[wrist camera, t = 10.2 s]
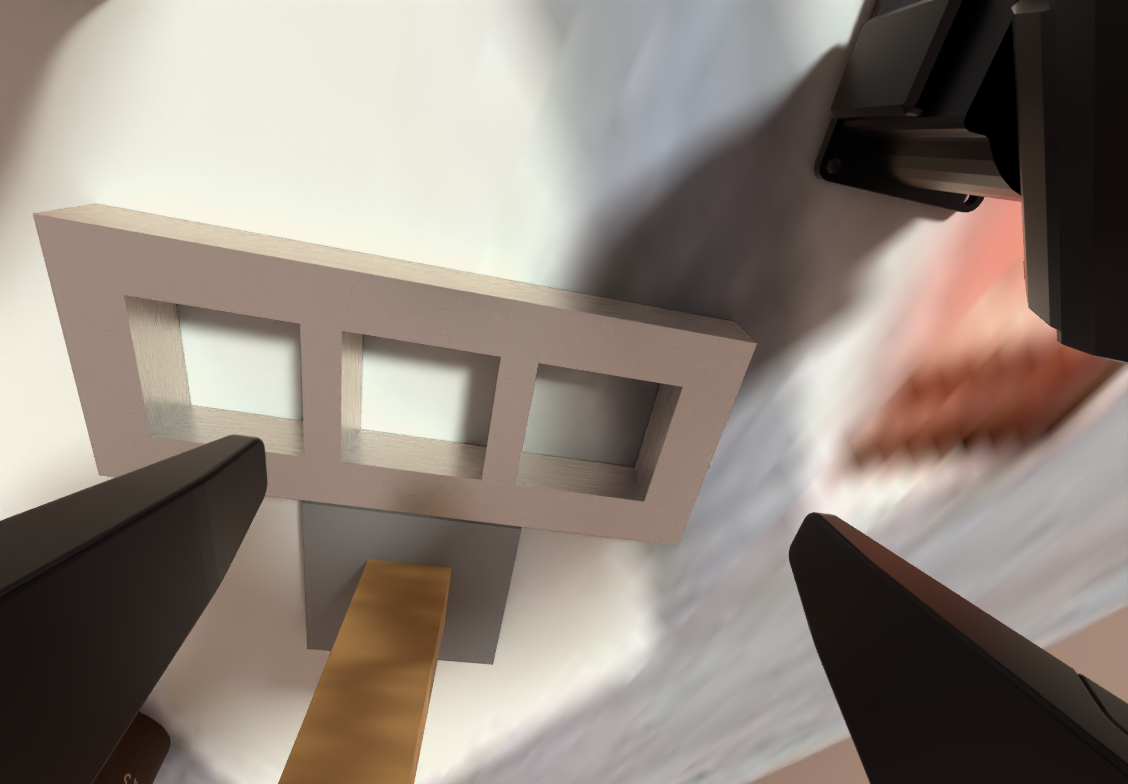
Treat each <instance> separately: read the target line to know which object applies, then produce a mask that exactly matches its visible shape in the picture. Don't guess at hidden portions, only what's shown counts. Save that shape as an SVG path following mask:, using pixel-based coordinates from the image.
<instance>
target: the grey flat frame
mask: <svg viewBox="0 0 1128 784" xmlns="http://www.w3.org/2000/svg"><path fill="white" fill-rule="evenodd" d="M33 216H34V220H35V224H36V228H37V232H38V236H39V240H40V244H41V248H42V252H43V256H44V260H45V264H46V268H47V272H48V276H49V279H50V283H51V287H52V291H53V295H54V299H55V303H56V307H57V311H58V315H59V319H60V323H61V327H62V331H63V335H64V339H65V343H66V347H67V351H68V355H69V359H70V362H71V366H72V370H73V374H74V378H75V382H76V386H77V390H78V394H79V398H80V402H81V406H82V410H83V414H84V418H85V422H86V426H87V430H88V434H89V438H90V442H91V445H92V449H93V453H94V457H95V461H96V465H97V469H98V473H99V475H101V476H109V477H119V476H121V475H124V474H127V473H129V472H132V471H135V470H137V469H140V468H143V467H145V466H148V465H151V464H153V463H156V462H159V461H161V460H164V459H167V458H169V457H172V456H175V455H177V454H180V453H183V452H185V451H188V450H191V449H193V448H196V447H199V446H202V445H204V444H207V443H210V442H212V441H215V440H218V439H220V438H223V437H226V436H228V435H232V434H237V435H244V436H252V437H258V438H260V439H261V440H262V441H263V442H264V445H265V454H266V467H267V480H268V483H267V490H266V493H265V496H273V497H282V498H290V499H298V500H306V501H314V502H323V503H331V504H339V505H347V506H356V507H364V508H372V509H380V510H388V511H397V512H405V513H413V514H421V515H429V516H438V517H446V518H454V519H462V520H471V521H479V522H487V523H495V524H503V525H512V526H520V527H528V528H536V529H545V530H553V531H561V532H569V533H577V534H586V535H594V536H602V537H610V538H619V539H627V540H635V541H643V542H651V543H660V544H668V545H676V546H678V544H679V541H680V539H681V536H682V533H683V531H684V528H685V526H686V523H687V521H688V518H689V516H690V513H691V511H692V508H693V506H694V503H695V500H696V498H697V495H698V493H699V490H700V488H701V485H702V483H703V480H704V478H705V475H706V472H707V470H708V467H709V465H710V462H711V460H712V457H713V455H714V452H715V450H716V447H717V445H718V442H719V439H720V437H721V434H722V432H723V429H724V427H725V424H726V422H727V419H728V417H729V414H730V411H731V409H732V406H733V404H734V401H735V399H736V396H737V394H738V391H739V389H740V386H741V384H742V381H743V378H744V376H745V373H746V371H747V368H748V366H749V363H750V361H751V358H752V356H753V353H754V351H755V348H756V345H757V343H756V342H755V341H754V340H753V339H752V338H751V337H750V336H749V335H748V334H747V333H746V332H745V331H743V330H742V329H741V328H740V327H739V326H738V325H737V324H736V323H735V322H734V321H729V320H724V319H718V318H713V317H707V316H702V315H696V314H691V313H686V312H680V311H675V310H669V309H664V308H658V307H653V306H648V305H642V304H637V303H631V302H626V301H621V300H615V299H610V298H604V297H599V296H593V295H588V294H583V293H577V292H572V291H566V290H561V289H555V288H550V287H545V286H539V285H534V284H528V283H523V282H518V281H512V280H507V279H501V278H496V277H490V276H485V275H480V274H474V273H469V272H463V271H458V270H453V269H447V268H442V267H436V266H431V265H425V264H420V263H415V262H409V261H404V260H398V259H393V258H387V257H382V256H377V255H371V254H366V253H360V252H355V251H350V250H344V249H339V248H333V247H328V246H322V245H317V244H312V243H306V242H301V241H295V240H290V239H284V238H279V237H274V236H268V235H263V234H257V233H252V232H247V231H241V230H236V229H230V228H225V227H219V226H214V225H209V224H203V223H198V222H192V221H187V220H181V219H176V218H171V217H165V216H160V215H154V214H149V213H144V212H138V211H133V210H127V209H122V208H116V207H111V206H106V205H100V204H91V205H84V206H78V207H71V208H65V209H58V210H52V211H45V212H39V213H33ZM176 304H182V305H188V306H194V307H200V308H206V309H212V310H219V311H225V312H231V313H237V314H243V315H249V316H255V317H261V318H267V319H273V320H279V321H285V322H292V323H298V324H300V341H301V371H302V401H303V421H299V420H292V419H285V418H278V417H271V416H264V415H257V414H249V413H242V412H235V411H228V410H221V409H214V408H207V407H200V406H193V405H191V403H190V396H189V389H188V382H187V375H186V368H185V361H184V354H183V347H182V341H181V334H180V327H179V320H178V313H177V306H176ZM363 334H365V335H371V336H377V337H383V338H389V339H395V340H401V341H407V342H413V343H419V344H425V345H431V346H438V347H444V348H450V349H456V350H462V351H468V352H474V353H480V354H486V355H492V356H498V357H501V359H500V365H499V372H498V378H497V384H496V391H495V397H494V404H493V410H492V416H491V423H490V429H489V436H488V442H487V447H484V446H477V445H469V444H462V443H455V442H448V441H441V440H434V439H427V438H420V437H413V436H406V435H398V434H391V433H384V432H377V431H370V430H363V429H361V396H362V356H363ZM539 363H541V364H547V365H553V366H559V367H565V368H571V369H577V370H583V371H590V372H596V373H602V374H608V375H614V376H620V377H626V378H632V379H638V380H644V381H650V382H656V383H661V385H660V388H659V391H658V394H657V397H656V400H655V404H654V407H653V410H652V413H651V416H650V419H649V423H648V426H647V429H646V432H645V435H644V439H643V442H642V445H641V448H640V451H639V454H638V458H637V461H636V464H635V467H634V468H633V467H626V466H618V465H611V464H604V463H597V462H590V461H583V460H576V459H569V458H562V457H555V456H547V455H540V454H533V453H526V452H522V447H523V442H524V436H525V431H526V426H527V421H528V416H529V410H530V405H531V400H532V395H533V390H534V384H535V379H536V374H537V369H538V364H539Z"/></svg>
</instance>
